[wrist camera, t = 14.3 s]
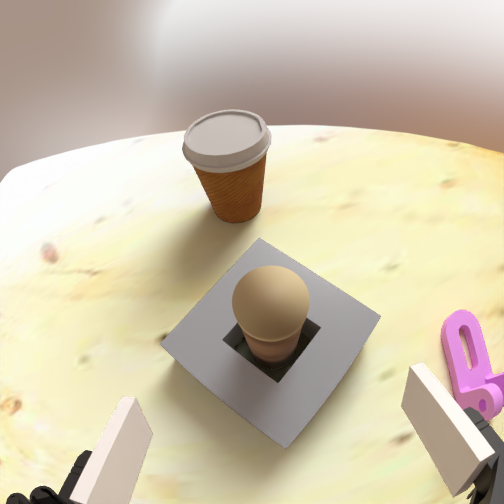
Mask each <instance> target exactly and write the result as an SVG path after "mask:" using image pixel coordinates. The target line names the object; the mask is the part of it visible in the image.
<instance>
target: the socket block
mask: <svg viewBox="0 0 504 504" xmlns="http://www.w3.org/2000/svg"><path fill="white" fill-rule="evenodd" d="M262 266H281V267H284V268H287V269H289V270H291V271H293V272H294V273H296V274H297V275H298V276H299V277H300V278H301V279H302V280H303V281H304V283H305V285H306V287H307V289H308V292H309V297H310V305H309V310H308V314H307V317H306V320H305V322H304V324H303V326H302V329H301V333H303V334H304V335H305V336H307V337H308V338H310V339H311V340H312V341H311V342H310V343H309V345H308V346H307V347H306V349H305V350H304V351H303V353H302V354H301V355H300V356H299V358H298V359H297V360H296V362H295V363H294V364H293V365H292V367H291V368H290V369H289V370H288V372H287V373H286V374H285V375H284V377H283V378H282V379H281V380H280V382H279V383H277V382H275V381H274V380H273V379H271V378H270V377H269V376H267V375H266V374H265V373H263V372H262V371H261V370H259V369H258V368H257V367H256V366H254V365H253V364H252V363H250V362H249V361H248V360H246V359H245V358H244V357H243V356H241V355H240V354H239V353H238V352H236V351H235V350H234V348H235V346H236V345H237V344H238V343H239V342H240V341H241V340H242V338H243V337H244V333H243V331H242V328H241V327H240V325H239V324H238V322H237V320H236V317H235V315H234V312H233V308H232V295H233V292H234V289H235V287H236V285H237V283H238V282H239V281H240V279H241V278H242V277H243V276H244V275H245V274H247V273H248V272H250V271H252V270H254V269H256V268H259V267H262ZM380 317H381V316H380V315H379V314H377V313H376V312H374V311H373V310H371V309H370V308H368V307H367V306H365V305H363V304H362V303H360V302H359V301H357V300H356V299H354V298H353V297H351V296H350V295H348V294H347V293H345V292H344V291H342V290H340V289H339V288H337V287H336V286H334V285H333V284H331V283H330V282H328V281H327V280H325V279H323V278H322V277H320V276H319V275H317V274H316V273H314V272H313V271H311V270H309V269H308V268H306V267H305V266H303V265H302V264H300V263H298V262H297V261H295V260H294V259H292V258H291V257H289V256H287V255H286V254H284V253H283V252H281V251H280V250H278V249H276V248H275V247H273V246H272V245H270V244H269V243H267V242H265V241H264V240H262V239H261V238H258V239H257V241H256V242H255V243H254V244H253V245H252V246H251V247H250V248H249V249H248V250H247V251H246V252H245V253H244V254H243V255H242V257H241V258H240V259H239V260H238V261H237V262H236V263H235V264H234V265H233V266H232V267H231V268H230V269H229V270H228V271H227V273H226V274H225V275H224V276H223V277H222V278H221V279H220V280H219V281H218V282H217V283H216V284H215V285H214V286H213V287H212V289H211V290H210V291H209V292H208V293H207V294H206V295H205V296H204V297H203V298H202V299H201V300H200V301H199V302H198V304H197V305H196V306H195V307H194V308H193V309H192V310H191V311H190V312H189V313H188V314H187V315H186V316H185V317H184V319H183V320H182V321H181V322H180V323H179V324H178V325H177V326H176V327H175V328H174V329H173V330H172V331H171V332H170V334H169V335H168V336H167V337H166V338H165V339H164V340H163V341H162V342H161V343H160V345H161V346H162V347H163V348H164V349H165V350H166V351H167V352H168V353H169V354H170V355H171V356H172V357H173V358H174V359H176V360H177V361H178V362H179V363H180V364H181V365H182V366H183V367H184V368H185V369H186V370H187V371H188V372H189V373H191V374H192V375H193V376H194V377H195V378H196V379H197V380H198V381H199V382H201V383H202V384H203V385H204V386H205V387H206V388H207V389H209V390H210V391H211V392H212V393H213V394H214V395H216V396H217V397H218V398H219V399H220V400H222V401H223V402H224V403H225V404H226V405H228V406H229V407H230V408H231V409H233V410H234V411H235V412H236V413H238V414H239V415H240V416H241V417H243V418H244V419H245V420H247V421H248V422H249V423H250V424H252V425H253V426H254V427H256V428H257V429H258V430H260V431H261V432H263V433H264V434H265V435H267V436H268V437H269V438H271V439H272V440H274V441H275V442H277V443H278V444H279V445H281V446H282V447H284V448H285V449H286V448H287V447H288V446H289V445H290V444H291V443H292V441H293V440H294V439H295V438H296V437H297V436H298V434H299V433H300V432H301V431H302V430H303V428H304V427H305V426H306V425H307V424H308V422H309V421H310V420H311V419H312V417H313V416H314V415H315V414H316V412H317V411H318V410H319V408H320V407H321V406H322V404H323V403H324V402H325V401H326V399H327V398H328V397H329V395H330V394H331V392H332V391H333V390H334V388H335V387H336V386H337V384H338V383H339V381H340V380H341V379H342V377H343V376H344V374H345V373H346V371H347V370H348V368H349V367H350V365H351V364H352V362H353V361H354V359H355V358H356V356H357V355H358V353H359V352H360V350H361V349H362V347H363V345H364V344H365V342H366V341H367V339H368V337H369V336H370V334H371V333H372V331H373V329H374V328H375V326H376V324H377V322H378V321H379V319H380Z"/></svg>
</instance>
